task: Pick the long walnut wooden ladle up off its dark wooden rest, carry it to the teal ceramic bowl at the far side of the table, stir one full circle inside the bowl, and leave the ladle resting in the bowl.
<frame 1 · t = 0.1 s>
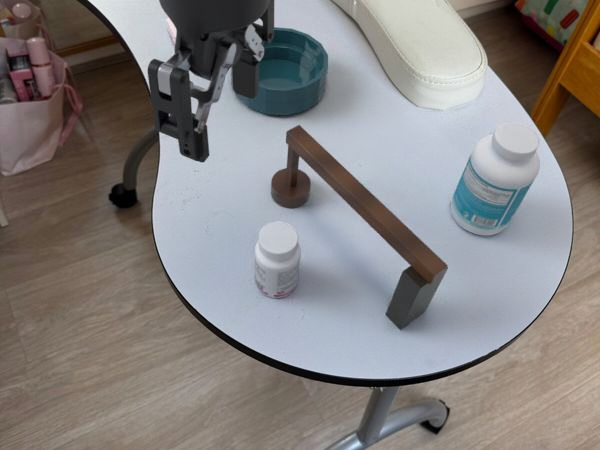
hand: (222, 123, 50), 21 cm above the table, tool pointing down, fingers open, 8 cm apart
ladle: (290, 192, 72), on the table, touching ladle stand
ladle stand: (405, 312, 64), on the table
pill bottle: (276, 281, 65), on the table
soap bar: (201, 35, 90), on the table
pill bottle 2: (477, 214, 73), on the table
bowl: (278, 85, 84), on the table
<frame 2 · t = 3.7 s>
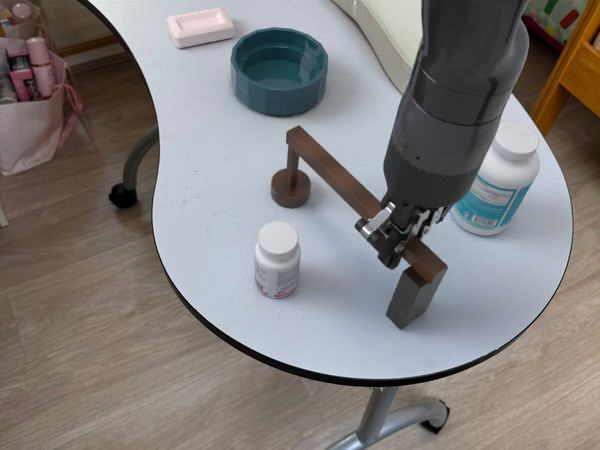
hand: (396, 256, 60), 7 cm above the table, tool pointing down, fingers closed on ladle
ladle: (290, 192, 72), on the table, touching gripper, ladle stand
everything else where it was.
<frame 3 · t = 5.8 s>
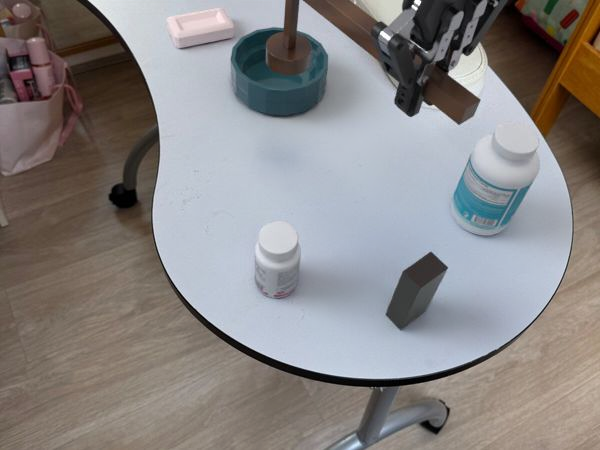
hand: (416, 103, 50), 23 cm above the table, tool pointing down, fingers closed on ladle
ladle: (287, 61, 63), point 16 cm above the table, touching gripper
everything else where it was.
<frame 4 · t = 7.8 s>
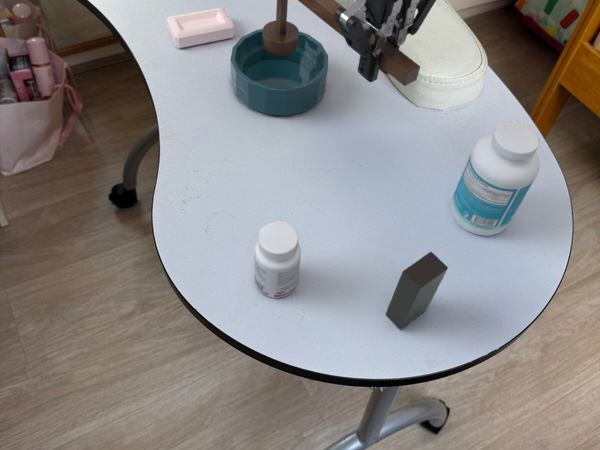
hand: (375, 72, 65), 14 cm above the table, tool pointing down, fingers closed on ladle
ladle: (280, 43, 78), point 7 cm above the table, touching gripper
everything else where it was.
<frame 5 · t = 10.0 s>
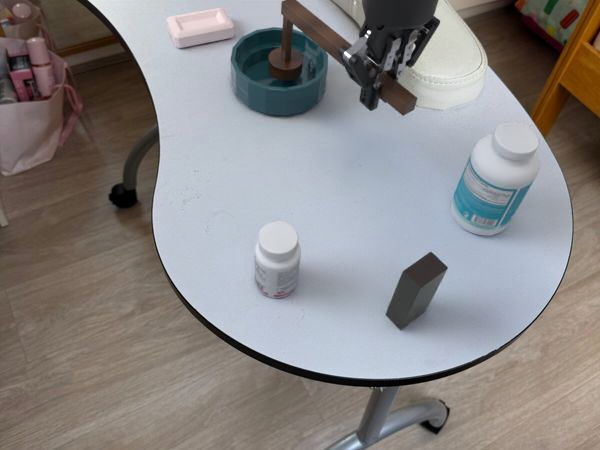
hand: (375, 101, 70), 9 cm above the table, tool pointing down, fingers closed on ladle
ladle: (285, 69, 82), point 2 cm above the table, touching gripper
everything else where it was.
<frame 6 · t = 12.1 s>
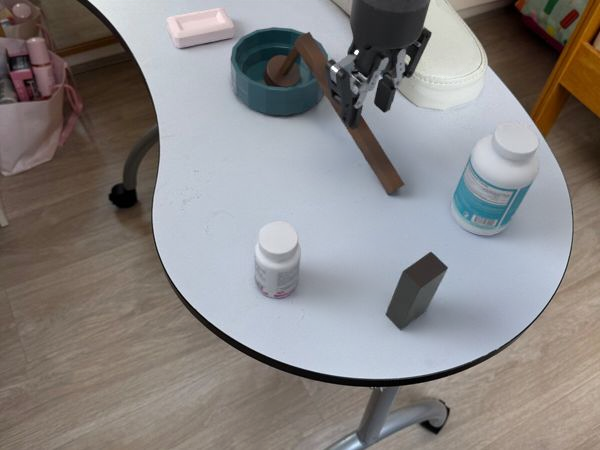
hand: (366, 115, 71), 8 cm above the table, tool pointing down, fingers open, 4 cm apart
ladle: (279, 77, 82), point 2 cm above the table, tilted 26°, touching bowl
everything else where it was.
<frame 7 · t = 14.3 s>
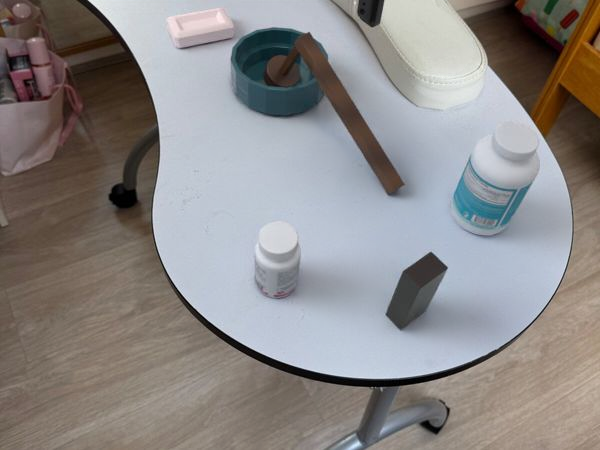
hand: (401, 7, 56), 24 cm above the table, tool pointing down, fingers open, 8 cm apart
nothing on the table moved.
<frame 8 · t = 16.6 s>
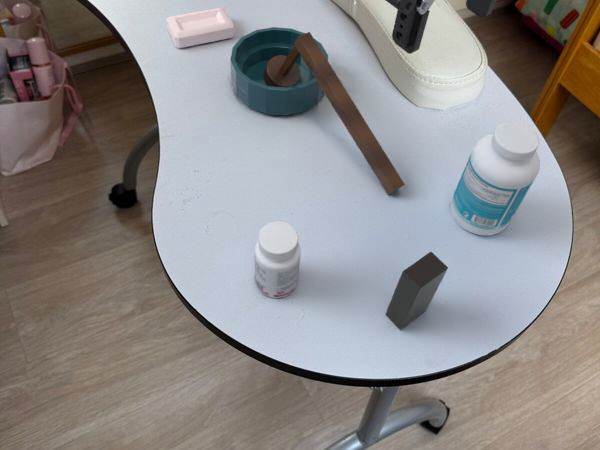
hand: (442, 28, 47), 28 cm above the table, tool pointing down, fingers open, 8 cm apart
nothing on the table moved.
at the end: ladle inside the target area in the bowl (0.3 cm from its centre), point 1.7 cm above the bowl's base; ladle touching bowl, table; the gripper is holding nothing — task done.
